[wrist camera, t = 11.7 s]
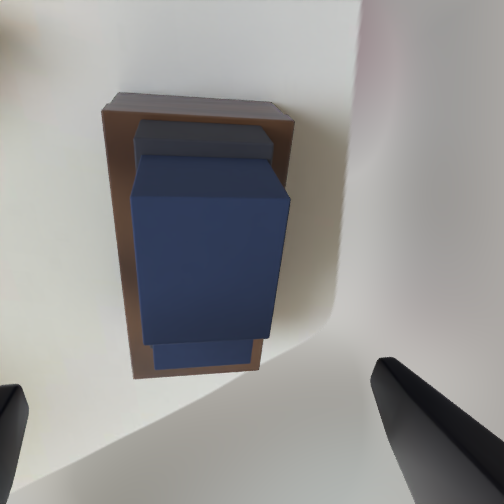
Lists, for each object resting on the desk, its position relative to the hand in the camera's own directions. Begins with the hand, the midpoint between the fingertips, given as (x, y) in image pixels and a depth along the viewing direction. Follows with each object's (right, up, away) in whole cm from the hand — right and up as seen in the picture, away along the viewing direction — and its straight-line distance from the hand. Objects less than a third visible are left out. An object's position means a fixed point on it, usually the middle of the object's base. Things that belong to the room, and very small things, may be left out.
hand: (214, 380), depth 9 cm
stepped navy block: (-1, +4, +6) cm, 8 cm away
